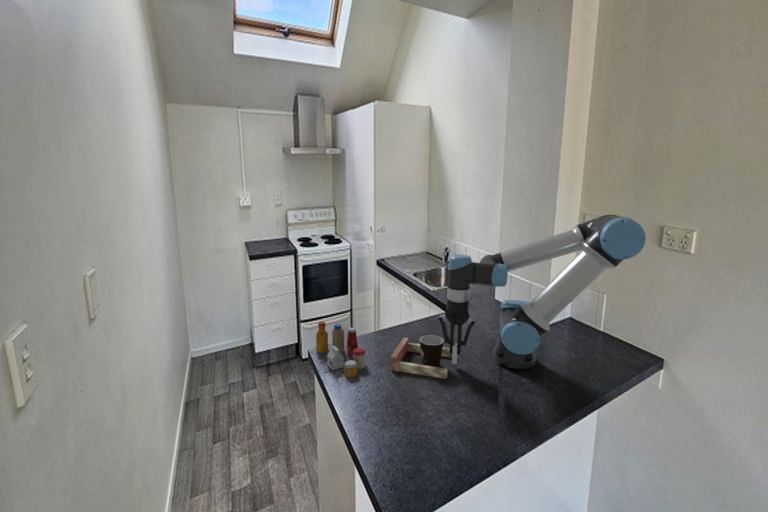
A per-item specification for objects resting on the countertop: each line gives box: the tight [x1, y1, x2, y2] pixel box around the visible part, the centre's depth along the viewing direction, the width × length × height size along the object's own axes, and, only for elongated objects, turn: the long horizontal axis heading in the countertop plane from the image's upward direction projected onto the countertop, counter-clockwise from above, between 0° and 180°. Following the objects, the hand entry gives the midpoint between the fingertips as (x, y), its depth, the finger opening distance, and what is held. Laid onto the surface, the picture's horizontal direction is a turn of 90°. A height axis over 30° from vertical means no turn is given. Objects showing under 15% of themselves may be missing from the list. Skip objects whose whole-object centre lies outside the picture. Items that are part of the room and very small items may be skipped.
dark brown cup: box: [419, 334, 445, 368], centre depth 136 cm, size 12×9×10 cm
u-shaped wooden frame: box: [389, 337, 452, 379], centre depth 137 cm, size 20×18×5 cm
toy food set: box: [315, 321, 366, 378], centre depth 139 cm, size 27×13×12 cm, turn 31°
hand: (454, 361), depth 134 cm, fingers closed
